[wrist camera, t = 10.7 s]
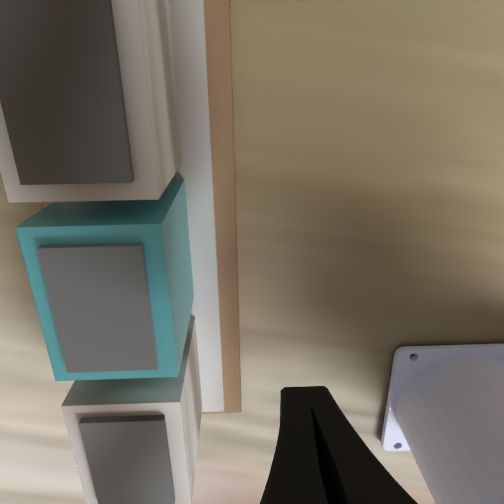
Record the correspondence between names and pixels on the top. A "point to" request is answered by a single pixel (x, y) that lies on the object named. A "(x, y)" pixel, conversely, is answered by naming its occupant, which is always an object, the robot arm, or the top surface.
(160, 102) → the board
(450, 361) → the robot arm
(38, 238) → the module
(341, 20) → the top surface
